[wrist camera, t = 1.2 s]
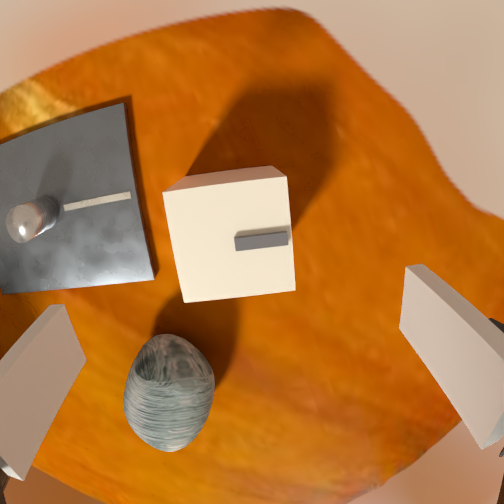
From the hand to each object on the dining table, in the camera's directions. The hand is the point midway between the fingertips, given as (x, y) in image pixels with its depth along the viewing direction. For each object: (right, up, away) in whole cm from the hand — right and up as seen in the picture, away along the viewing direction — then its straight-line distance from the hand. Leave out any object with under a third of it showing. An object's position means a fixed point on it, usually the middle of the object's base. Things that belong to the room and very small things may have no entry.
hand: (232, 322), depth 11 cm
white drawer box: (-1, +6, +17) cm, 18 cm away
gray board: (-19, +7, +16) cm, 25 cm away
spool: (-8, -11, +23) cm, 26 cm away
